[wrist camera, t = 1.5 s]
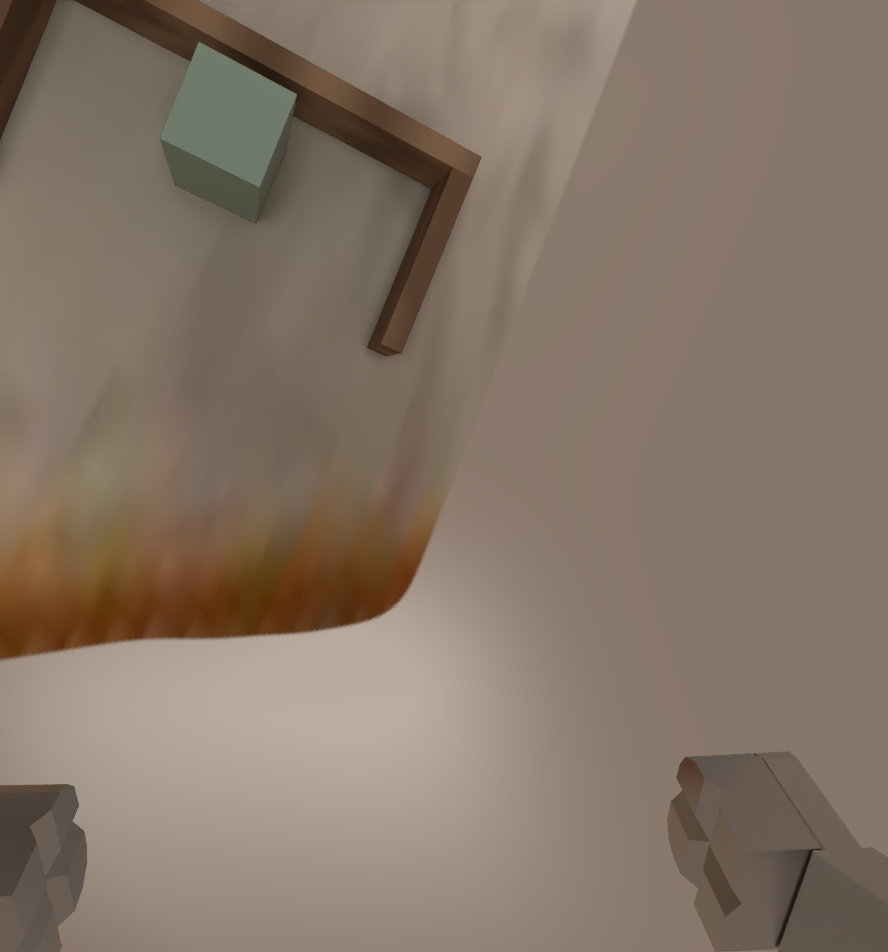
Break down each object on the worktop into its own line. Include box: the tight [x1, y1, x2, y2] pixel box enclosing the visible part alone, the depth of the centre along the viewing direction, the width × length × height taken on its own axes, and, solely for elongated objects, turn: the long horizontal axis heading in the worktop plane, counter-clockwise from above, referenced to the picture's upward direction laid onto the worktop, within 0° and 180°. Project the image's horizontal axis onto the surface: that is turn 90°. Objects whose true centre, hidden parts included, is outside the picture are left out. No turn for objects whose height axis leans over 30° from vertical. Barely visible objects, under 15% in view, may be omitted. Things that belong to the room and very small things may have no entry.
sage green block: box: [160, 42, 297, 224], centre depth 37 cm, size 4×4×8 cm
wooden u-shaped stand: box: [0, 0, 482, 356], centre depth 39 cm, size 23×11×4 cm, turn 67°
